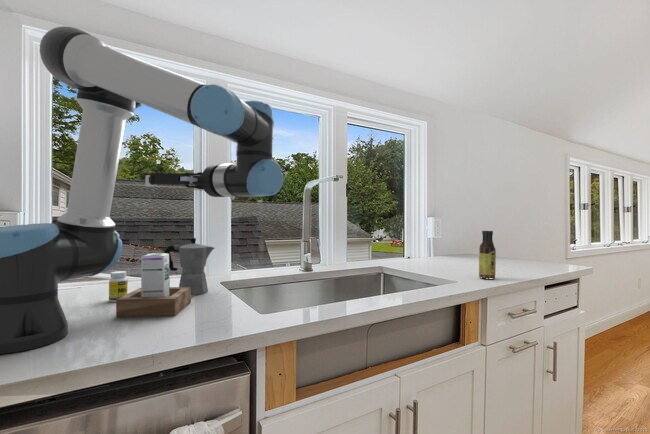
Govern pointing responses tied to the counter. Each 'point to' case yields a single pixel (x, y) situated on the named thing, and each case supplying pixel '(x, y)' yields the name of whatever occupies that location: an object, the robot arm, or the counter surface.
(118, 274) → the supplement bottle
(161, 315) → the open brown wooden box
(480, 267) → the sauce bottle
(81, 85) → the robot arm
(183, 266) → the coffeepot
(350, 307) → the counter surface
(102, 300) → the counter surface
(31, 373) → the counter surface
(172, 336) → the counter surface
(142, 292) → the syrup box
